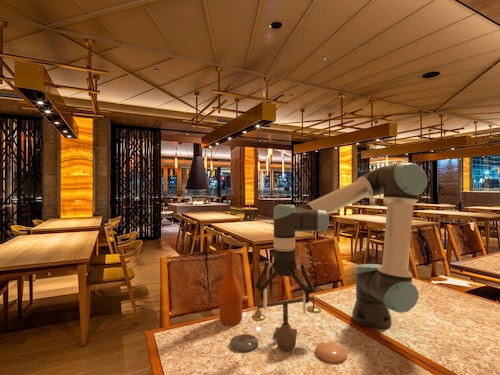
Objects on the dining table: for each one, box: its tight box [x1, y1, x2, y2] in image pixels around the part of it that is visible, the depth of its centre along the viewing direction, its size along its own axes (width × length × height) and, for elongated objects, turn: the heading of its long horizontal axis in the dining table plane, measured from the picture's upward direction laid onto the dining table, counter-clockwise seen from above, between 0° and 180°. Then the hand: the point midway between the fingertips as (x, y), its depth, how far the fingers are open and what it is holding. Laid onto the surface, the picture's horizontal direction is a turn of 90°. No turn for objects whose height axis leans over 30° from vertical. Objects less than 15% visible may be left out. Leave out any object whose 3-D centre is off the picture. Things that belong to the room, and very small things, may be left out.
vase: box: [275, 321, 297, 353], centre depth 97 cm, size 7×7×9 cm
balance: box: [251, 296, 322, 339], centre depth 106 cm, size 26×5×15 cm, turn 77°
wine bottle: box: [218, 249, 243, 326], centre depth 118 cm, size 10×10×30 cm
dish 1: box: [229, 333, 259, 353], centre depth 100 cm, size 10×10×1 cm
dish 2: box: [315, 342, 348, 364], centre depth 93 cm, size 10×10×1 cm
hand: (284, 310), depth 97 cm, fingers open, 13 cm apart
